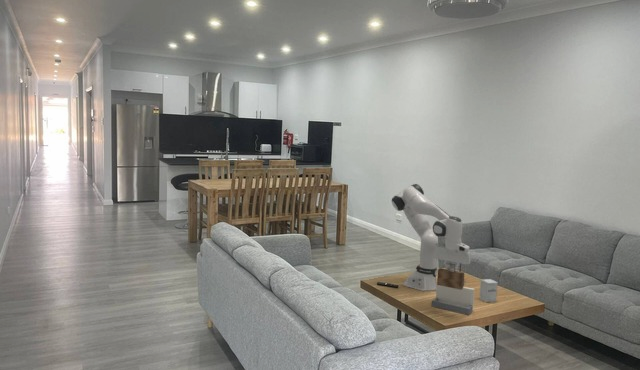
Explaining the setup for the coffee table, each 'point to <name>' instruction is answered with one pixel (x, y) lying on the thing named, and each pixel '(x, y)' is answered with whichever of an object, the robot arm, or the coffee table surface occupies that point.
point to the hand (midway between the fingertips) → (451, 269)
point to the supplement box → (488, 290)
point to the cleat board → (454, 299)
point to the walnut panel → (450, 277)
